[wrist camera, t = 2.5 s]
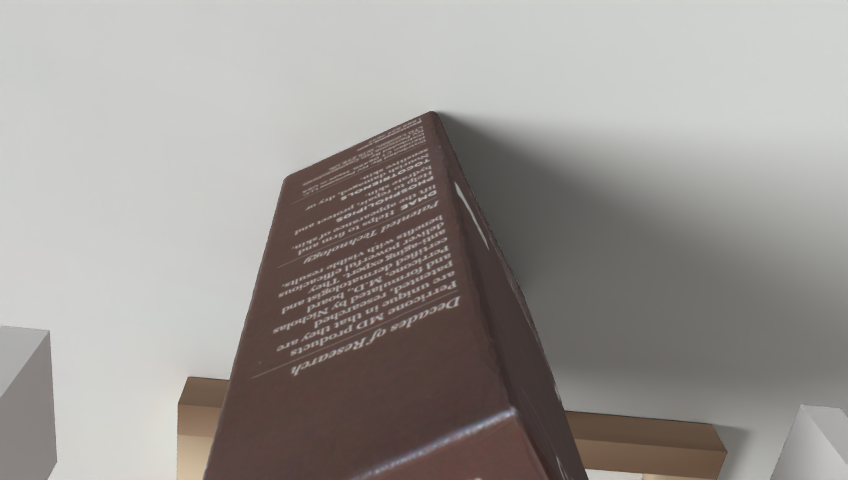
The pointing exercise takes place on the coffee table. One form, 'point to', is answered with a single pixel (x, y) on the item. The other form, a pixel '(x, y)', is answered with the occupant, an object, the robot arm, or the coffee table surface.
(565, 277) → the coffee table surface
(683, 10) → the coffee table surface
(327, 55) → the coffee table surface
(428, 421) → the box
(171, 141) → the coffee table surface
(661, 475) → the two-pane wooden frame
